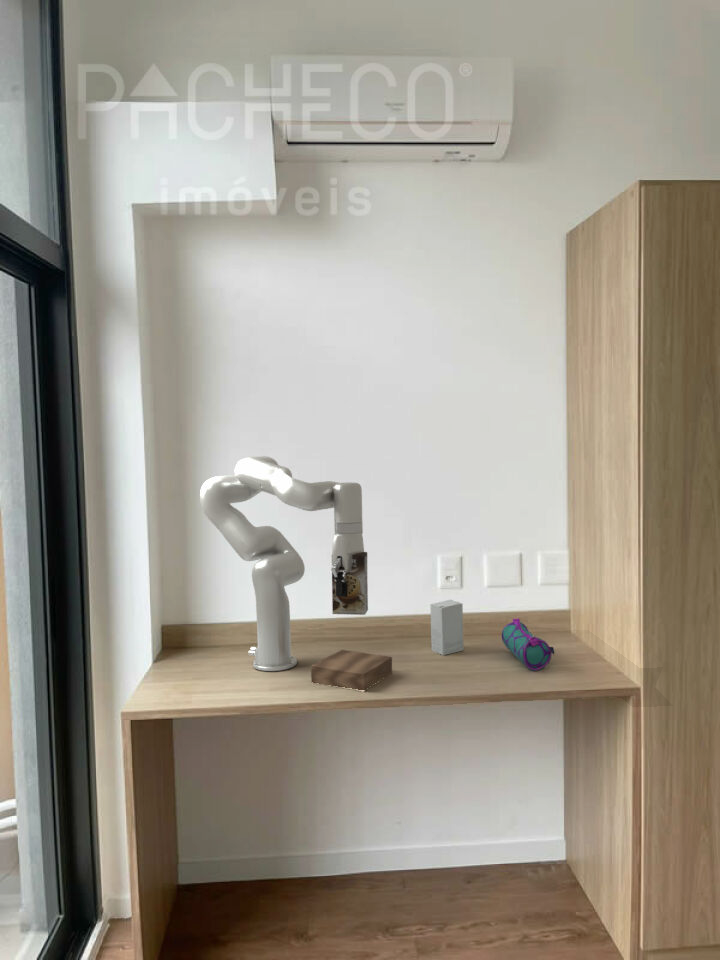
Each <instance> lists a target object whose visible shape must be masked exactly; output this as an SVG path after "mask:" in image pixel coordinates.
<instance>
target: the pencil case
mask: <svg viewBox="0 0 720 960" xmlns="http://www.w3.org/2000/svg"><path fill="white" fill-rule="evenodd" d="M501 640H502V642H503V644H504V646H505V647H506V648H507V649H508V650H509V651H510V652H511V653H512V654H513V655H514V657H516V659H518V660H519V661H520V662H521V663H522V664H523V665H524V666H525V667H526V668H528V669H529V670H530V671H532V672H536V671H537V670H538V671H541V670H542V669H543V668H544V667H546V666H547V665H548V664H549V662H550V661H551V658H552V654H553V655H555V649H554V646H550V645H549V644H548V642H546V641H545V640H544V639H542V638H540V637H537V636H536V635H534V634H532V632H530V631H529V629H528V627H527V626H526V624H524V623H523V622H522V621H521V619H520V618H513V619H512V622H510V623H508V624H505V626H504V627H503V629H502V631H501Z"/></svg>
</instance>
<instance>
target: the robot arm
mask: <svg viewBox="0 0 720 960" xmlns="http://www.w3.org/2000/svg"><path fill="white" fill-rule="evenodd" d="M362 491H363V489H362V486H361V484H360V483H358V482H338V481H337V482H336V481H329V480H328V481H327V480H326V481H319V482H306V481H304V480H299V479H296V478H294V477H293V473H292V471H291V470H290V469H289V468H288V467H286V466H282V465H280V464H279V463H278V462H277V461H276V460H275V459H274V458H273V457H270V456H264V455H263V456H262V455H261V456H248V457H245V458H243V459H240V460H239V461H238V462H237V464H236V465H235V468H234V474H229V475H218V476H214V477H211V478H209V479H207V480H206V481H204V483H202V486H201V488H200V492H199V502H200V506H201V510H202V511H203V513H204V515H205V516H206V517H207V519H208V520H209V521H210V522H211V524H213V526H214V527H215V528H216V529H217V530H218V531H219V532H220V533H221V535H222V536H223V537H224V539H225V540H226V542H227V543H228V544H229V545H230V546H231V548H232V549H233V550H234V552H236V554H237V555H238V556H239V558H240V559H242V560H243V561H246V562H254V561H257V562H256V563H255V564H254V566H253V567H252V571H251V579H252V585H253V589H254V595H255V607H256V611H255V612H256V631H257V634H256V635H257V637H256V638H257V646H251V647H250V649H249V650H248V656H254V658H255V659H254V660H253V661H252V667H253V668H254V669H256V670H259V671H263V672H277V671H285V670H288V669H291V668H294V667H295V666H296V665H297V663H298V660H297V658H296V657H295V656H293V655H292V645H291V644H292V643H291V642H292V640H291V613H290V600H289V596H288V594H287V591H286V589H285V587H286V586H289V585H292V584H295V583H297V582H298V581H300V580H301V579H302V578H303V576H304V574H305V571H306V570H305V568H306V567H305V562H304V560H303V559H302V557H301V555H300V554H299V552H297V550H296V548H294V546H293V545H292V544H291V542H289V541H288V539H287V538H286V537H285V536H284V534H283V533H282V532H281V531H280V530H279V529H277V528H276V527H273V526H271V525H270V526H269V525H262V526H254V525H253V524H252V523H251V522H250V521H249V520H248V518H247V516H246V515H245V514H244V513H243V512H241V511H240V510H238V508H235V507H234V506H233V505H231V504H236V503H243V502H246V501H248V500H251V499H252V498H255V497H256V496H257V495H258V494H261V492H264V493H266V494H269V495H273V496H275V497H277V499H278V500H279V501H281V502H282V503H284V504H285V505H288V506H290V507H294V508H297V509H298V510H303V511H305V512H317V511H322V510H328V509H334V511H333V519H334V522H333V523H334V535H333V540H332V553H331V569H330V570H331V574H332V573H333V577H334V578H335V582H336V596H339V597H347V582H345V581H346V577H347V574H348V573H349V572H350V571H351V568H352V555H354V554H358V553H362V552H365V547H364V546H365V545H364V538H363V537H364V536H363V532H364V531H363V529H364V528H363V526H364V525H363V493H362ZM341 564H343V567H344V568H345V570H339V567H340V565H341ZM340 573H343V577H342V575H341V574H340Z"/></svg>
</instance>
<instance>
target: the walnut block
mask: <svg viewBox="0 0 720 960" xmlns="http://www.w3.org/2000/svg"><path fill="white" fill-rule="evenodd" d="M391 673H392V674H393V657H392V656H388V655H387V656H386V655H381V654H373V653H366V652H361V651H360V652H359V651H354V650H353V651H352V650H347V649H340V650H339V651H337V652H335V653H333V654H331V655H329V656H327V657H325V658H323V659H321V660H319V661H318V662H316V663H314V664H312V665H310V674H311V675H310V676H311V678H310V679H311V683H312V682H313V683H312V684H316V683H319V684H318V685H321V684H325V685H324V686H327V685H331V686H330V687H333V686H338V687H345V688H352V689H358V690H366V689H367V688H369V687H370V686H372V685H373V684H375V683H377V682H378V681H380V680H381V681H383V680H384V679H386V678H388V677H389V676H390V675H392V674H391ZM388 675H389V676H388ZM385 677H386V678H385ZM383 678H384V679H383ZM382 679H383V680H382ZM381 681H380V682H381ZM378 683H379V682H378ZM378 683H377V684H378ZM375 685H376V684H375ZM338 687H337V688H338ZM372 687H373V686H372ZM369 689H370V688H369ZM366 691H367V690H366Z"/></svg>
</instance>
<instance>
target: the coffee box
mask: <svg viewBox="0 0 720 960" xmlns="http://www.w3.org/2000/svg"><path fill="white" fill-rule="evenodd" d="M339 570H345V568H344V567H343V564H341V565H340V567H339ZM340 574H341V575H342V577H343V573H340ZM345 582H347V597H339V596H336V582H335V578H334V577H333V573H332V572H331V591H332V592H331V593H332V595H331V599H332V603H331V604H332V605H331V607H332V608H331V609H332V610H331V611H332V612H331V614H332V615H348V616H349V615H352V616H353V615H355V616H356V615H357V616H365V615H366V614H367V612H368V610H369V606H368V605H369V602H368V601H369V600H368V599H369V594H368V593H369V592H368V591H369V590H368V587H369V586H368V552H367V551H364V552H362V553H358V554H354V555H352V568H351V571H350V572H349V573H348V574H347V577H346V581H345Z"/></svg>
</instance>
